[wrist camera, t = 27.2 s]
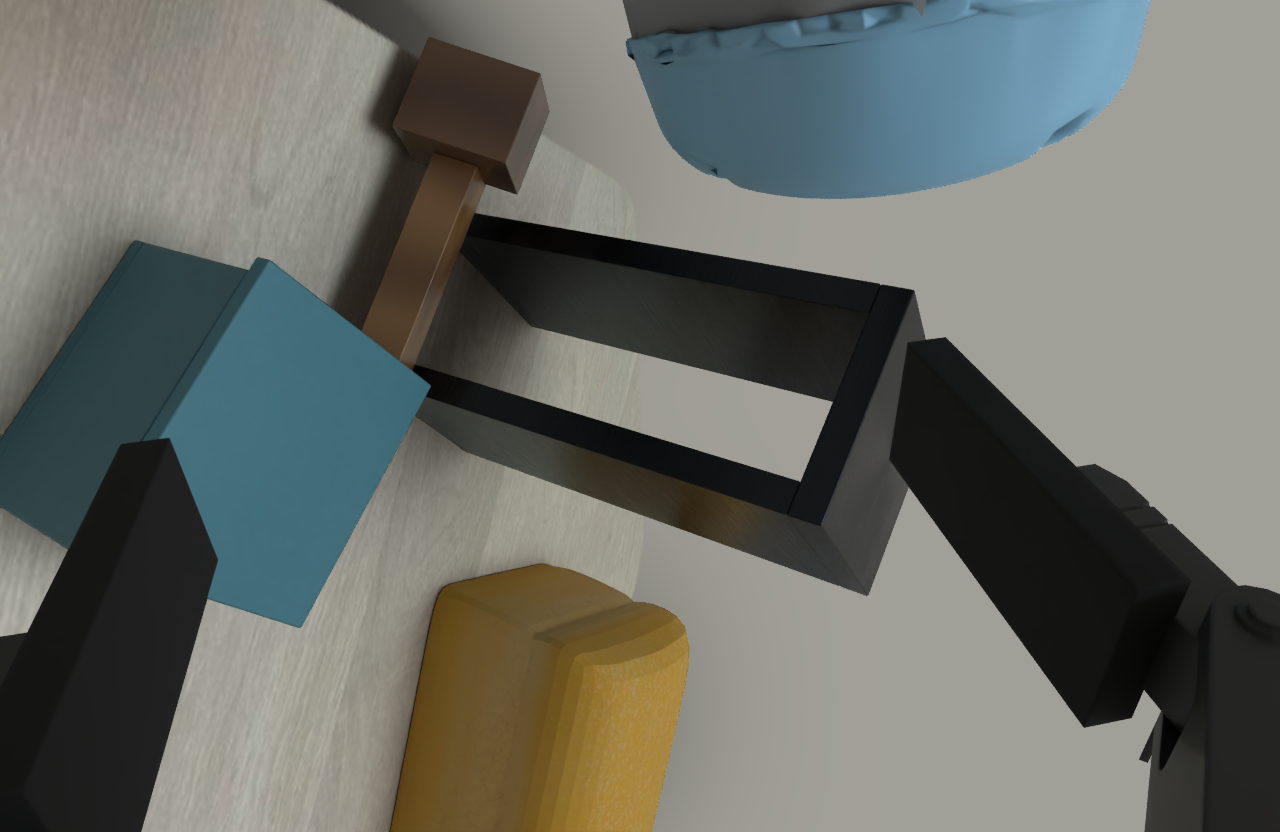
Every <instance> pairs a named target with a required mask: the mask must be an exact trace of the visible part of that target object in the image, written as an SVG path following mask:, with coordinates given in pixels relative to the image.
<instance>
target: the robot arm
mask: <svg viewBox="0 0 1280 832" xmlns="http://www.w3.org/2000/svg"><path fill="white" fill-rule="evenodd" d="M1150 1H1151V0H623V4H624V8H625V11H626V16H627V19H628V24H629V28H630V31H631V35H632V37H631V38H629V39H627V41H626V47H627V52H628V56H629V57H631V58H632V59H633V60H634V61H635V62H636V65H637V68H638V70H639V73H640V76H641V79H642V81H643V84H644V86H645V89H646V92H647V94H648V97H649V100H650V103H651V105H652V108H653V111H654V113H655V116H656V119H657V121H658V124H659V127H660V129H661V130H662V133H663V135H664V136H665V138H666V139H667V141H668V142H669V144H670V145H671V146H672V148H673V149H674V150H675V151H676V152H677V153H678V154H679V155H680V156H681V157H682V158H683V159H685V160H686V161H687V162H688V163H689V164H691V165H692V166H694V167H695V168H697V169H698V170H700V171H701V172H703V173H706V174H709V175H713V176H716V177H719V178H726V179H728V180H730V181H731V182H732V183H733V184H735V185H737V186H739V187H741V188H745V189H748V190H752V191H756V192H761V193H767V194H773V195H780V196H788V197H799V198H821V199H823V198H824V199H844V198H845V199H847V198H866V197H878V196H887V195H896V194H903V193H910V192H916V191H921V190H927V189H932V188H937V187H941V186H946V185H950V184H955V183H959V182H962V181H967V180H970V179H973V178H976V177H980V176H983V175H986V174H990V173H992V172H995V171H998V170H1001V169H1004V168H1006V167H1009V166H1012V165H1014V164H1016V163H1019V162H1022V161H1024V160H1026V159H1028V158H1029V157H1030V156H1031V155H1033V154H1035V153H1036V152H1037V151H1038V150H1039V149H1040V148H1042V147H1045V146H1047V145H1050V144H1053V143H1056V142H1059V141H1060V140H1062V139H1063V138H1065V137H1067V136H1071V135H1072V134H1074V133H1075V132H1077V131H1078V130H1079V129H1081V128H1083V127H1084V126H1085V125H1087V124H1088V123H1089V122H1090V121H1091V120H1092V119H1093V118H1095V117H1096V116H1097V115H1098V114H1099V113H1100V112H1101V111H1102V110H1104V109H1105V107H1107V106H1108V104H1109V103H1110V102H1111V101H1112V100H1113V99H1114V97H1115V96H1116V95H1117V94H1118V92H1119V91H1120V90H1121V88H1122V86H1123V84H1124V83H1125V81H1126V79H1127V77H1128V76H1129V74H1130V72H1131V69H1132V67H1133V65H1134V62H1135V59H1136V56H1137V52H1138V48H1139V44H1140V40H1141V36H1142V32H1143V29H1144V25H1145V21H1146V17H1147V13H1148V9H1149V5H1150ZM889 460H890V462H891V463H892V464H893V466H894V467H895V469H896V470H897V471H898V473H899V474H900V475H901V477H902V478H903V480H904V481H905V482H906V484H907V485H908V486H909V488H910V489H911V491H912V492H913V493H914V495H915V496H916V497H917V499H918V500H919V501H920V503H921V504H922V506H923V507H924V508H925V510H926V511H927V512H928V514H929V515H930V517H931V518H932V519H933V521H934V522H935V524H936V525H937V526H938V528H939V529H940V530H941V532H942V533H943V535H944V536H945V537H946V539H947V540H948V542H949V543H950V544H951V546H952V547H953V548H954V550H955V551H956V553H957V554H958V555H959V557H960V558H961V559H962V561H963V562H964V564H965V565H966V566H967V567H968V569H969V570H970V572H971V573H972V574H973V576H974V577H975V578H976V580H977V581H978V583H979V584H980V586H981V587H982V588H983V590H984V591H985V592H986V594H987V595H988V596H989V598H990V599H991V601H992V602H993V603H994V605H995V606H996V608H997V609H998V610H999V612H1000V613H1001V614H1002V616H1003V617H1004V619H1005V620H1006V621H1007V623H1008V624H1009V625H1010V627H1011V628H1012V630H1013V631H1014V632H1015V634H1016V635H1017V636H1018V638H1019V639H1020V641H1021V642H1022V643H1023V645H1024V646H1025V647H1026V649H1027V650H1028V652H1029V653H1030V654H1031V656H1032V657H1033V658H1034V660H1035V661H1036V663H1037V664H1038V665H1039V666H1040V668H1041V669H1042V671H1043V672H1044V674H1045V675H1046V676H1047V678H1048V679H1049V680H1050V681H1051V683H1052V685H1053V686H1054V687H1055V689H1056V690H1057V691H1058V693H1059V694H1060V695H1061V697H1062V698H1063V700H1064V701H1065V702H1066V704H1067V705H1068V707H1069V708H1070V709H1071V711H1072V712H1073V713H1074V715H1075V716H1076V718H1077V719H1078V720H1079V722H1080V723H1081V724H1082V726H1083V727H1084V728H1085V727H1090V726H1095V725H1100V724H1105V723H1110V722H1114V721H1119V720H1124V719H1129V718H1132V716H1133V713H1134V711H1135V709H1136V707H1137V704H1138V702H1139V700H1140V698H1141V695H1142V693H1143V691H1144V690H1145V692H1146V693H1147V694H1148V695H1149V696H1150V698H1151V699H1152V700H1153V701H1154V702H1155V704H1156V705H1157V706H1158V707H1159V708H1160V710H1161V713H1160V715H1159V717H1158V719H1157V721H1156V723H1155V726H1154V728H1153V730H1152V732H1151V734H1150V737H1149V739H1148V741H1147V743H1146V745H1145V747H1144V749H1143V752H1142V754H1141V756H1140V759H1139V760H1142V761H1144V762H1147V763H1148V761H1149V759H1150V757H1151V755H1152V758H1151V768H1150V779H1149V790H1148V801H1147V812H1146V823H1145V832H1280V594H1278V593H1275V592H1273V591H1270V590H1268V589H1264V588H1258V587H1252V586H1247V585H1243V586H1238V585H1237V584H1235V583H1234V582H1233V581H1232V580H1231V579H1230V578H1229V577H1228V576H1227V575H1226V574H1225V573H1224V572H1223V571H1221V570H1220V568H1218V567H1217V566H1216V565H1215V564H1214V563H1213V562H1212V561H1211V560H1210V559H1209V558H1208V557H1207V556H1205V555H1204V554H1203V553H1202V552H1201V551H1200V550H1199V549H1198V548H1197V547H1196V546H1195V545H1194V544H1193V543H1192V542H1191V541H1190V540H1189V539H1187V538H1186V537H1185V536H1184V535H1183V534H1182V533H1181V532H1180V531H1179V530H1178V529H1177V528H1176V527H1175V526H1174V525H1173V524H1168V522H1167V519H1166V518H1165V517H1164V516H1163V515H1162V514H1161V513H1160V512H1159V511H1158V510H1157V509H1156V508H1155V507H1150V506H1149V502H1148V501H1147V500H1146V499H1145V498H1144V497H1143V496H1142V495H1141V494H1140V493H1139V492H1137V491H1136V490H1135V489H1134V488H1133V487H1132V486H1131V485H1130V484H1129V483H1128V482H1127V481H1125V480H1124V479H1122V478H1120V477H1118V476H1116V475H1114V474H1112V473H1111V472H1109V471H1107V470H1105V469H1103V468H1101V467H1099V466H1098V465H1096V464H1093V465H1086V466H1080V467H1076V466H1075V465H1074V464H1073V463H1072V462H1071V461H1070V460H1069V459H1068V458H1067V457H1066V456H1065V455H1064V454H1063V453H1062V452H1061V451H1060V450H1059V449H1058V448H1057V447H1056V446H1055V445H1054V444H1053V443H1052V442H1051V441H1050V440H1049V439H1048V438H1047V437H1046V436H1045V435H1044V434H1043V433H1042V432H1041V431H1040V430H1039V429H1038V428H1037V427H1036V426H1035V425H1034V424H1033V423H1031V421H1030V420H1029V419H1028V418H1027V417H1025V415H1023V414H1022V412H1020V411H1019V410H1018V409H1017V408H1016V407H1015V406H1014V405H1013V404H1012V403H1011V402H1010V401H1009V400H1008V399H1007V398H1006V397H1005V396H1004V395H1003V394H1002V393H1001V392H1000V391H999V390H998V389H997V388H996V387H995V386H994V385H993V384H992V383H991V382H990V381H989V380H988V379H987V378H986V377H985V376H984V375H983V374H982V373H981V372H980V371H979V370H978V369H977V368H976V367H975V366H974V365H973V364H972V363H971V362H970V361H969V360H968V359H967V358H966V357H965V356H964V355H963V354H962V353H961V352H960V351H959V350H958V349H957V348H956V347H955V346H954V345H953V344H952V343H951V342H950V341H949V340H948V339H947V338H946V337H944V338H936V339H929V340H921V341H913V342H908V343H907V350H906V356H905V362H904V368H903V375H902V381H901V387H900V394H899V400H898V406H897V413H896V419H895V425H894V432H893V438H892V444H891V451H890V457H889ZM217 563H218V558H217V555H216V553H215V550H214V548H213V545H212V543H211V540H210V538H209V535H208V533H207V530H206V528H205V525H204V523H203V520H202V518H201V515H200V513H199V510H198V508H197V505H196V503H195V500H194V498H193V495H192V493H191V490H190V488H189V485H188V483H187V480H186V478H185V475H184V473H183V470H182V468H181V465H180V462H179V460H178V457H177V455H176V452H175V450H174V447H173V445H172V442H171V440H170V438H163V439H155V440H147V441H139V442H132V443H124V444H120V446H119V448H118V450H117V452H116V454H115V456H114V458H113V460H112V462H111V464H110V466H109V468H108V470H107V472H106V474H105V476H104V479H103V481H102V483H101V485H100V487H99V489H98V491H97V493H96V495H95V497H94V499H93V501H92V503H91V505H90V507H89V509H88V511H87V513H86V515H85V517H84V519H83V521H82V523H81V525H80V527H79V529H78V531H77V533H76V535H75V537H74V539H73V541H72V543H71V545H70V547H69V549H68V551H67V553H66V555H65V557H64V559H63V561H62V563H61V565H60V568H59V570H58V572H57V574H56V576H55V578H54V580H53V582H52V584H51V586H50V588H49V590H48V592H47V594H46V596H45V598H44V600H43V602H42V604H41V606H40V608H39V610H38V612H37V614H36V616H35V618H34V620H33V622H32V624H31V626H30V628H29V630H28V632H27V633H22V634H15V635H9V636H2V637H0V832H141V831H142V827H143V824H144V820H145V817H146V813H147V809H148V806H149V802H150V799H151V795H152V792H153V788H154V785H155V781H156V778H157V774H158V771H159V767H160V764H161V760H162V757H163V753H164V750H165V746H166V742H167V739H168V735H169V732H170V728H171V725H172V721H173V718H174V714H175V711H176V707H177V704H178V700H179V697H180V693H181V690H182V686H183V683H184V679H185V675H186V672H187V668H188V665H189V661H190V658H191V654H192V651H193V647H194V644H195V640H196V637H197V633H198V630H199V626H200V623H201V619H202V616H203V612H204V609H205V605H206V601H207V598H208V594H209V591H210V587H211V584H212V580H213V577H214V573H215V570H216V566H217Z"/></svg>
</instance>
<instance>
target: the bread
mask: <svg viewBox="0 0 1280 832" xmlns="http://www.w3.org/2000/svg"><path fill="white" fill-rule="evenodd" d="M688 664H689V643H688V638H687V634H686V629H685V626H684V625H683V624H682V623H681V621H680V620H679V619H678V617H677V616H675V615H674V614H672V613H671V612H669V611H668V610H666V609H665V608H662V607H659V606H657V605H654V604H650V603H645V602H633V601H632V600H631V599H630V598H629V597H628V596H627V595H625V594H623V593H622V592H620V591H618V590H616V589H614V588H612V587H610V586H608V585H606V584H604V583H602V582H600V581H598V580H595V579H593V578H591V577H588V576H586V575H584V574H581V573H578V572H576V571H573V570H570V569H566V568H561V567H555V566H550V565H547V564H538V565H533V566H529V567H524V568H520V569H515V570H511V571H506V572H502V573H497V574H493V575H488V576H484V577H479V578H475V579H471V580H466V581H462V582H457V583H453V584H450V585H448V586H446V587H445V588H443V590H442V591H441V593H440V594H439V596H438V599H437V602H436V605H435V608H434V612H433V616H432V620H431V624H430V629H429V634H428V639H427V644H426V649H425V654H424V659H423V665H422V670H421V675H420V680H419V685H418V691H417V696H416V701H415V706H414V711H413V717H412V722H411V727H410V732H409V737H408V743H407V748H406V753H405V758H404V763H403V769H402V774H401V779H400V784H399V789H398V795H397V800H396V805H395V810H394V815H393V821H392V826H391V831H390V832H652V829H653V824H654V820H655V816H656V811H657V807H658V803H659V799H660V794H661V790H662V786H663V781H664V777H665V772H666V768H667V764H668V759H669V755H670V751H671V747H672V742H673V738H674V733H675V729H676V725H677V720H678V716H679V712H680V707H681V702H682V698H683V693H684V688H685V683H686V677H687V671H688Z"/></svg>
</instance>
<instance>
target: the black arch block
mask: <svg viewBox="0 0 1280 832" xmlns="http://www.w3.org/2000/svg"><path fill="white" fill-rule="evenodd" d="M460 252H461V253H462V254H463V255H464V256H465V257H466V258H467V259H468V260H469V261H470V262H471V263H472V264H473V265H474V266H475V267H476V269H477V270H478V271H479V272H480V273H481V274H482V275H483V276H484V277H485V278H486V279H487V280H488V281H489V282H490V283H491V284H492V285H493V286H494V287H495V288H496V289H497V290H498V292H499V293H500V294H501V295H502V296H503V297H504V298H505V299H506V300H507V301H508V302H509V303H510V304H511V305H512V306H513V307H514V308H515V309H516V310H517V311H518V312H519V313H520V315H521V316H522V317H523V318H524V319H525V320H526V321H527V322H528V323H529V324H530V325H531V326H532V327H536V328H540V329H544V330H548V331H552V332H556V333H560V334H564V335H568V336H572V337H576V338H580V339H584V340H588V341H592V342H596V343H600V344H604V345H608V346H612V347H616V348H620V349H624V350H628V351H632V352H636V353H640V354H644V355H648V356H653V357H656V358H660V359H664V360H668V361H672V362H676V363H680V364H684V365H688V366H692V367H696V368H700V369H704V370H708V371H712V372H716V373H720V374H724V375H728V376H732V377H736V378H740V379H744V380H748V381H752V382H756V383H760V384H764V385H768V386H772V387H776V388H780V389H784V390H788V391H792V392H796V393H800V394H804V395H808V396H812V397H816V398H820V399H824V400H828V401H832V402H833V404H832V406H831V409H830V411H829V413H828V416H827V418H826V421H825V423H824V426H823V428H822V431H821V433H820V435H819V438H818V440H817V443H816V445H815V448H814V450H813V453H812V455H811V457H810V460H809V463H808V465H807V467H806V470H805V472H804V475H803V477H802V479H801V482H799V481H796V480H793V479H790V478H786V477H783V476H780V475H777V474H773V473H770V472H767V471H764V470H760V469H757V468H754V467H750V466H747V465H744V464H740V463H737V462H734V461H731V460H727V459H724V458H721V457H717V456H714V455H711V454H708V453H704V452H701V451H698V450H695V449H691V448H688V447H685V446H681V445H678V444H675V443H672V442H668V441H665V440H661V439H658V438H655V437H652V436H648V435H645V434H642V433H639V432H635V431H632V430H629V429H626V428H622V427H619V426H616V425H612V424H609V423H606V422H603V421H599V420H596V419H593V418H589V417H586V416H583V415H580V414H576V413H573V412H570V411H566V410H563V409H560V408H557V407H553V406H550V405H547V404H543V403H540V402H537V401H534V400H530V399H527V398H524V397H520V396H517V395H514V394H511V393H507V392H504V391H501V390H497V389H494V388H491V387H488V386H484V385H481V384H478V383H474V382H471V381H468V380H465V379H461V378H458V377H455V376H451V375H448V374H445V373H442V372H438V371H435V370H432V369H428V368H425V367H422V366H419V365H414V368H413V370H412V371H413V372H414V373H416V374H417V375H418V376H420V377H421V378H422V379H423V380H425V381H426V382H427V383H428V384H430V385H431V387H430V389H429V391H428V393H427V394H426V396H425V398H424V400H423V402H422V404H421V406H420V407H419V409H418V411H417V413H416V415H415V416H417V417H418V418H420V419H421V420H422V421H424V422H425V423H427V424H428V425H429V426H431V427H432V428H434V429H435V430H436V431H438V432H439V433H441V434H442V435H443V436H445V437H446V438H448V439H449V440H450V441H452V442H453V443H455V444H456V445H458V446H459V447H460V448H462V449H463V450H465V451H466V452H468V453H471V454H474V455H476V456H479V457H482V458H485V459H487V460H490V461H493V462H496V463H499V464H501V465H504V466H507V467H510V468H512V469H515V470H518V471H521V472H524V473H526V474H529V475H532V476H535V477H537V478H540V479H543V480H546V481H549V482H551V483H554V484H557V485H560V486H562V487H565V488H568V489H571V490H574V491H576V492H579V493H582V494H585V495H587V496H590V497H593V498H596V499H599V500H601V501H604V502H607V503H610V504H612V505H615V506H618V507H621V508H624V509H626V510H629V511H632V512H635V513H637V514H640V515H643V516H646V517H649V518H652V519H654V520H657V521H660V522H663V523H665V524H668V525H671V526H674V527H676V528H680V529H682V530H685V531H687V532H691V533H693V534H696V535H699V536H702V537H704V538H707V539H710V540H713V541H715V542H718V543H721V544H724V545H726V546H729V547H732V548H735V549H738V550H741V551H743V552H746V553H749V554H751V555H754V556H757V557H760V558H763V559H765V560H768V561H771V562H774V563H777V564H779V565H782V566H785V567H788V568H790V569H793V570H796V571H799V572H801V573H804V574H807V575H810V576H813V577H815V578H818V579H821V580H824V581H826V582H829V583H832V584H835V585H838V586H839V585H840V586H841V587H844V588H846V589H849V590H852V591H855V592H857V593H860V594H863V595H866V596H867V595H868V594H869V592H870V589H871V587H872V584H873V581H874V579H875V576H876V573H877V571H878V568H879V565H880V562H881V560H882V557H883V555H884V552H885V549H886V546H887V544H888V541H889V538H890V536H891V533H892V530H893V528H894V525H895V522H896V519H897V517H898V514H899V511H900V509H901V506H902V504H903V501H904V498H905V496H906V493H907V490H908V487H909V486H908V485H907V484H906V482H905V481H904V480H903V478H902V477H901V475H900V474H899V473H898V471H897V470H896V469H895V467H894V466H893V464H892V463H891V462H890V460H889V457H890V451H891V444H892V438H893V432H894V425H895V419H896V413H897V406H898V400H899V394H900V387H901V381H902V375H903V368H904V362H905V356H906V350H907V343H908V342H913V341H921V340H926V339H925V335H924V330H923V326H922V321H921V317H920V313H919V308H918V304H917V300H916V295H915V291H914V290H911V289H905V288H899V287H894V286H888V285H880V284H878V283H872V282H866V281H860V280H854V279H849V278H843V277H837V276H832V275H826V274H820V273H814V272H808V271H803V270H797V269H792V268H786V267H780V266H774V265H769V264H763V263H757V262H752V261H746V260H740V259H734V258H729V257H723V256H717V255H711V254H706V253H700V252H694V251H689V250H683V249H677V248H671V247H665V246H660V245H654V244H648V243H643V242H637V241H631V240H626V239H620V238H614V237H608V236H603V235H597V234H591V233H585V232H580V231H574V230H568V229H562V228H557V227H551V226H545V225H540V224H534V223H528V222H522V221H517V220H511V219H505V218H499V217H494V216H488V215H482V214H477V213H474V216H473V218H472V221H471V223H470V226H469V228H468V231H467V233H466V236H465V238H464V241H463V243H462V246H461V249H460Z"/></svg>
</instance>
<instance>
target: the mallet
mask: <svg viewBox="0 0 1280 832" xmlns="http://www.w3.org/2000/svg"><path fill="white" fill-rule="evenodd" d="M548 115H549V108H548V103H547V99H546V95H545V91H544V86H543V82H542V78H541V74H540V73H537V72H534V71H531V70H528V69H525V68H522V67H519V66H516V65H513V64H510V63H507V62H504V61H501V60H497V59H494V58H491V57H488V56H485V55H482V54H479V53H476V52H473V51H470V50H467V49H463V48H461V47H458V46H454V45H451V44H448V43H445V42H442V41H439V40H436V39H433V38H430V37H429V38H428V40H427V43H426V45H425V47H424V50H423V52H422V55H421V57H420V59H419V62H418V64H417V67H416V69H415V72H414V74H413V76H412V79H411V81H410V84H409V86H408V89H407V91H406V93H405V96H404V98H403V101H402V103H401V106H400V108H399V110H398V113H397V115H396V118H395V120H394V123H393V125H392V126H393V128H394V129H395V131H396V133H397V134H398V136H399V137H400V139H401V141H402V142H403V144H404V145H405V147H406V149H407V150H408V152H409V154H410V155H411V157H412V158H413V160H415V161H418V162H421V163H424V164H427V165H428V167H427V170H426V172H425V175H424V177H423V180H422V182H421V185H420V187H419V190H418V192H417V195H416V197H415V199H414V202H413V204H412V207H411V209H410V212H409V214H408V217H407V219H406V222H405V224H404V227H403V229H402V232H401V234H400V237H399V239H398V242H397V244H396V246H395V249H394V251H393V254H392V256H391V259H390V261H389V264H388V266H387V269H386V271H385V274H384V276H383V279H382V281H381V284H380V286H379V289H378V291H377V294H376V296H375V298H374V301H373V303H372V306H371V308H370V311H369V313H368V316H367V318H366V321H365V323H364V326H363V328H362V332H363V333H364V334H366V335H367V336H368V337H369V338H371V339H372V340H373V341H375V342H376V343H377V344H378V345H380V346H381V347H382V348H384V349H385V350H386V351H387V352H389V353H390V354H391V355H393V356H394V357H395V358H396V359H398V360H399V361H400V362H402V363H403V364H404V365H405V366H407V367H408V368H409V369H411V370H413V368H414V365H415V363H416V360H417V358H418V355H419V353H420V350H421V348H422V345H423V343H424V340H425V337H426V335H427V332H428V330H429V327H430V325H431V322H432V320H433V317H434V315H435V312H436V310H437V307H438V304H439V302H440V299H441V297H442V294H443V292H444V289H445V287H446V284H447V282H448V279H449V277H450V274H451V271H452V269H453V266H454V264H455V261H456V259H457V256H458V254H459V251H460V249H461V246H462V243H463V241H464V238H465V236H466V233H467V231H468V228H469V226H470V223H471V221H472V218H473V216H474V213H475V210H476V208H477V205H478V203H479V200H480V198H481V195H482V193H483V190H484V188H485V184H487V185H490V186H493V187H496V188H499V189H502V190H505V191H508V192H511V193H514V194H518V192H519V189H520V187H521V184H522V182H523V179H524V177H525V174H526V171H527V169H528V166H529V164H530V161H531V158H532V156H533V153H534V151H535V148H536V146H537V143H538V140H539V138H540V135H541V133H542V130H543V128H544V125H545V122H546V120H547V117H548Z"/></svg>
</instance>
